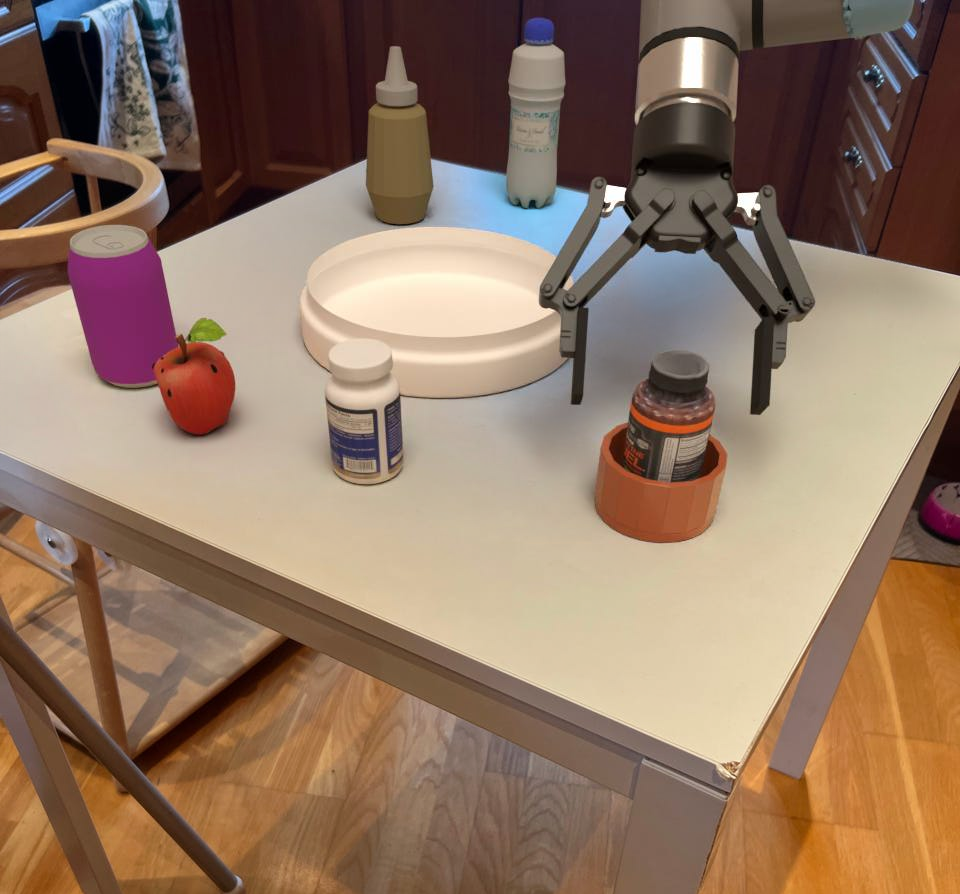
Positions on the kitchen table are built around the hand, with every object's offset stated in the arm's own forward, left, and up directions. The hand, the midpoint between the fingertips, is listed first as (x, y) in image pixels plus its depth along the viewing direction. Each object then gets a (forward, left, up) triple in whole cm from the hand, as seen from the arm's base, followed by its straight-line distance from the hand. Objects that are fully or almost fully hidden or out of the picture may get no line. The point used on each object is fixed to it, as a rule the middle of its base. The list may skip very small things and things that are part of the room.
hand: (667, 405), depth 72 cm
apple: (+38, +2, -7) cm, 38 cm away
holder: (0, +3, -7) cm, 8 cm away
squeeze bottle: (+37, -49, -7) cm, 62 cm away
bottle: (+23, -59, -7) cm, 64 cm away
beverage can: (+48, -5, -7) cm, 49 cm away
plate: (+24, -21, -7) cm, 33 cm away
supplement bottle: (0, +3, -6) cm, 7 cm away
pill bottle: (+23, +4, -7) cm, 24 cm away
